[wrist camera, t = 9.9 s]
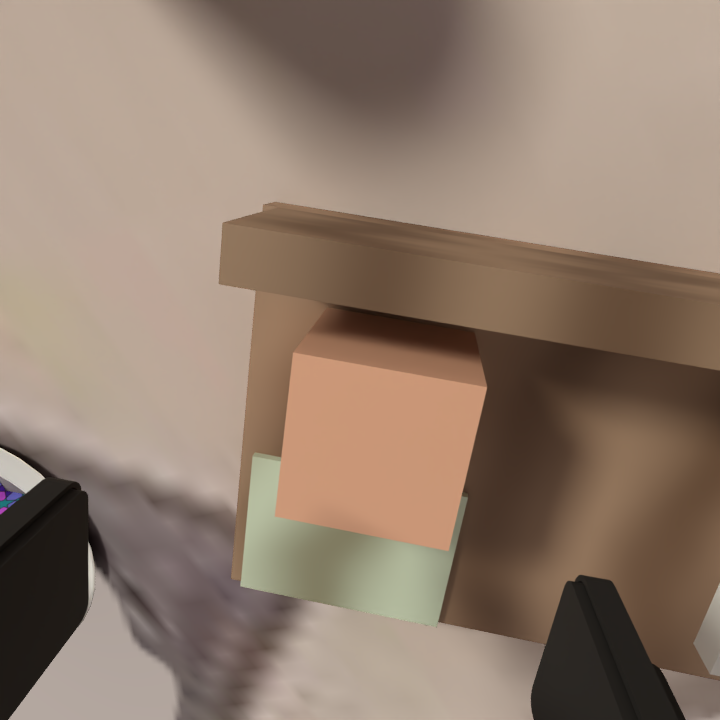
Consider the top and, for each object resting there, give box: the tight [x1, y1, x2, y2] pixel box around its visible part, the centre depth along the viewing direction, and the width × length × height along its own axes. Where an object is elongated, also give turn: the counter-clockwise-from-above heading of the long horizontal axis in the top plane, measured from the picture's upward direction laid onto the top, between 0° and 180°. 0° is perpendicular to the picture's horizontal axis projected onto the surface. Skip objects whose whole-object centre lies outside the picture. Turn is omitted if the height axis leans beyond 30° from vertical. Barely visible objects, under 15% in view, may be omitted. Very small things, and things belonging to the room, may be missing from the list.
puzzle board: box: [219, 202, 720, 680], centre depth 19 cm, size 21×15×7 cm
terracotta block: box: [275, 307, 487, 551], centre depth 18 cm, size 5×5×5 cm
